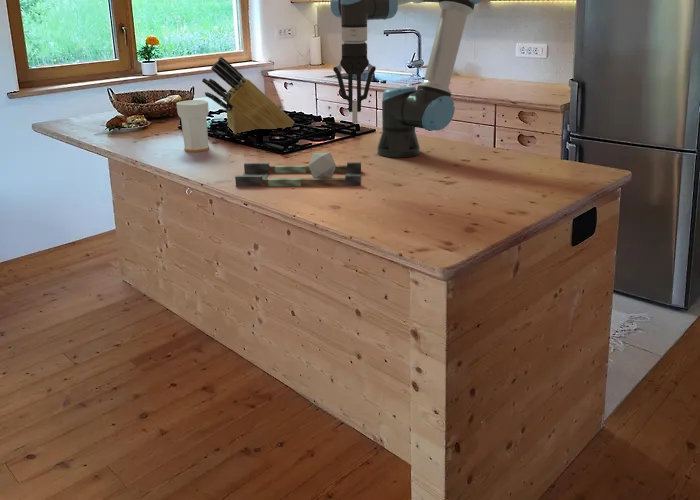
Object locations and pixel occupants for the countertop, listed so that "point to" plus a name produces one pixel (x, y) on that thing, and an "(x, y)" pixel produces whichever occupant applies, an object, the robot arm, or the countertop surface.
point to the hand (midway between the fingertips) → (354, 122)
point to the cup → (194, 124)
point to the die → (322, 165)
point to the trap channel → (260, 171)
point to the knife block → (245, 102)
